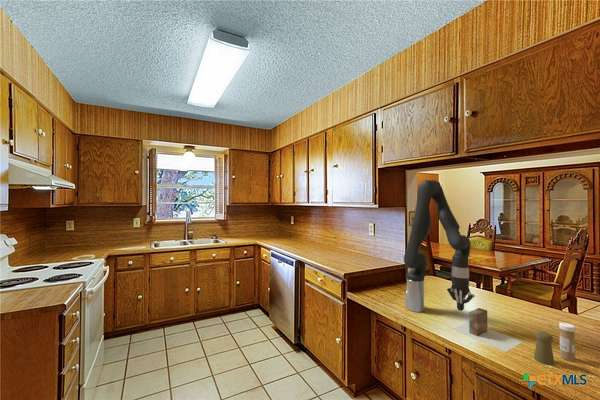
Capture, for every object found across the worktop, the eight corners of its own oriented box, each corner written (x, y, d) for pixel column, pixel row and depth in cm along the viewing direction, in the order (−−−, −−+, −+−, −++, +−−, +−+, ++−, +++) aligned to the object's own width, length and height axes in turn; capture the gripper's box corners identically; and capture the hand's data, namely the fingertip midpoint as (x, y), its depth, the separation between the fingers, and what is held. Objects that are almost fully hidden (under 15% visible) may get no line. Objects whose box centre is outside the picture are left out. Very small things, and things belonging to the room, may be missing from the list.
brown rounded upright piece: (533, 360, 106) (532, 332, 106) (534, 354, 110) (534, 327, 110) (554, 367, 101) (554, 338, 101) (555, 360, 105) (554, 332, 105)
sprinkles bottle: (578, 362, 104) (578, 327, 104) (565, 361, 105) (565, 326, 105) (569, 355, 109) (568, 322, 109) (556, 354, 110) (556, 321, 110)
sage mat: (450, 329, 131) (450, 328, 131) (469, 322, 139) (469, 321, 139) (505, 353, 111) (505, 352, 111) (523, 342, 119) (523, 341, 119)
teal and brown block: (469, 333, 126) (469, 311, 126) (479, 328, 131) (479, 307, 131) (477, 336, 123) (477, 314, 123) (487, 331, 128) (487, 310, 128)
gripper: (443, 273, 138) (443, 307, 138) (469, 280, 127) (470, 316, 127) (451, 271, 142) (451, 304, 142) (478, 277, 131) (478, 313, 131)
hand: (460, 310), depth 134 cm, fingers closed
